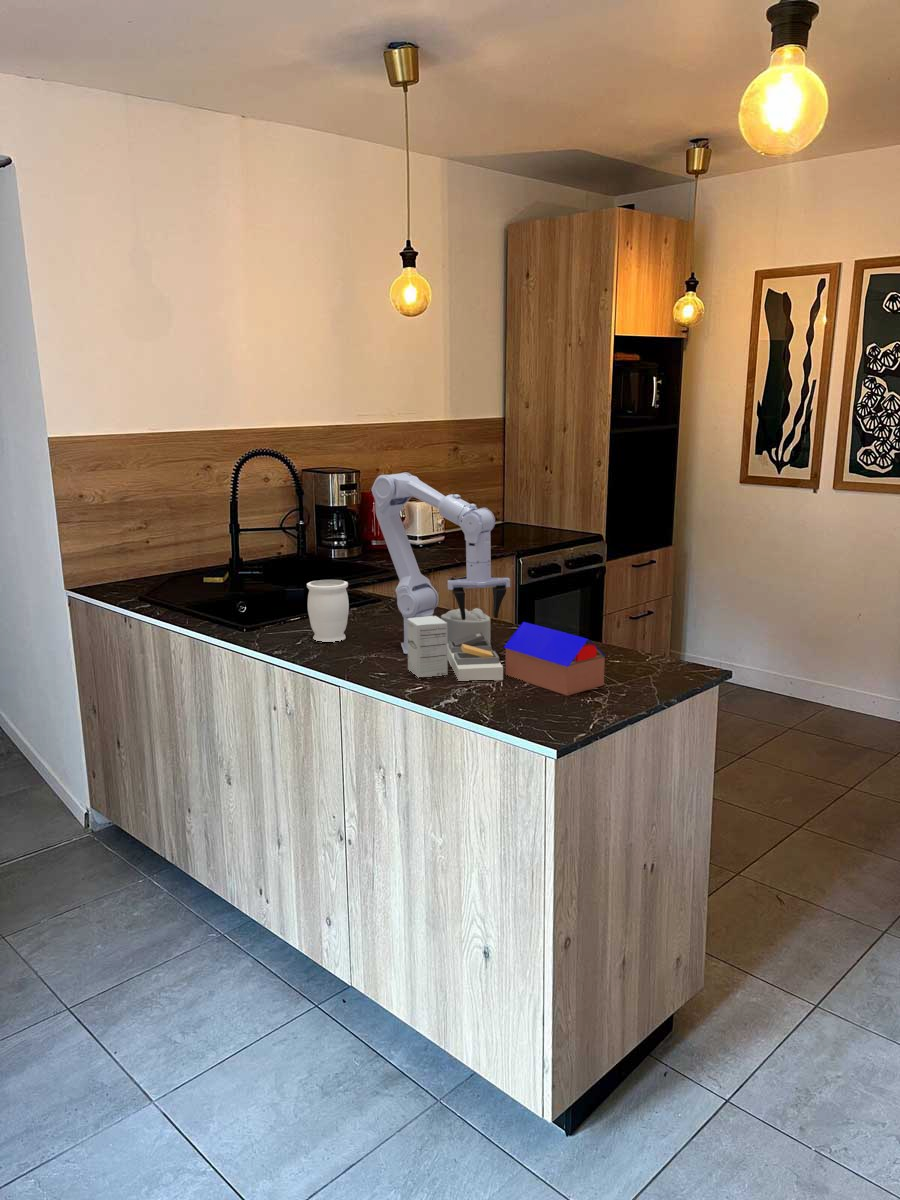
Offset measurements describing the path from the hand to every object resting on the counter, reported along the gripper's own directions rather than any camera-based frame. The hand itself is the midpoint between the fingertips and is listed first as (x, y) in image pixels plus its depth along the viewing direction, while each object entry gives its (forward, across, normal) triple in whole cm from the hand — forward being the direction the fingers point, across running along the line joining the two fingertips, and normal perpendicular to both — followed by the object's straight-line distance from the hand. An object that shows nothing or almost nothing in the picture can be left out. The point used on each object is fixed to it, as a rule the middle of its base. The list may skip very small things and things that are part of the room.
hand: (479, 618), depth 216 cm
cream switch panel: (+10, -2, -5) cm, 12 cm away
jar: (+10, -36, +26) cm, 45 cm away
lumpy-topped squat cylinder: (+11, 0, +16) cm, 20 cm away
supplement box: (+11, -13, -8) cm, 19 cm away
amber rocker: (+6, -2, -10) cm, 12 cm away
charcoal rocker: (+6, -2, 0) cm, 6 cm away
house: (+11, +14, -17) cm, 25 cm away
